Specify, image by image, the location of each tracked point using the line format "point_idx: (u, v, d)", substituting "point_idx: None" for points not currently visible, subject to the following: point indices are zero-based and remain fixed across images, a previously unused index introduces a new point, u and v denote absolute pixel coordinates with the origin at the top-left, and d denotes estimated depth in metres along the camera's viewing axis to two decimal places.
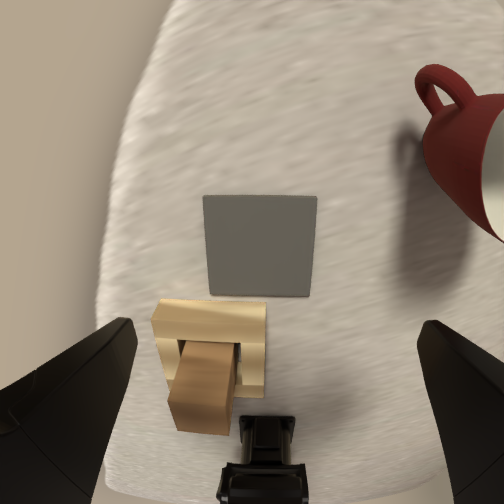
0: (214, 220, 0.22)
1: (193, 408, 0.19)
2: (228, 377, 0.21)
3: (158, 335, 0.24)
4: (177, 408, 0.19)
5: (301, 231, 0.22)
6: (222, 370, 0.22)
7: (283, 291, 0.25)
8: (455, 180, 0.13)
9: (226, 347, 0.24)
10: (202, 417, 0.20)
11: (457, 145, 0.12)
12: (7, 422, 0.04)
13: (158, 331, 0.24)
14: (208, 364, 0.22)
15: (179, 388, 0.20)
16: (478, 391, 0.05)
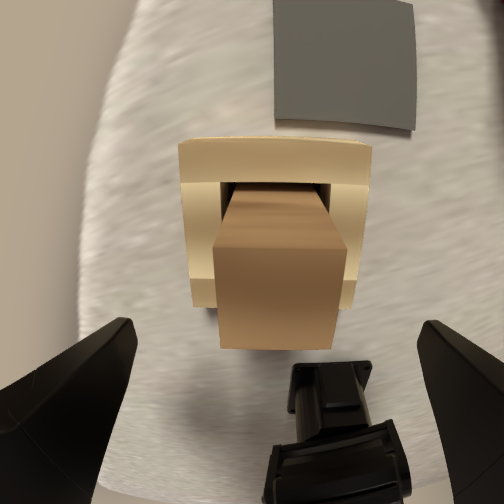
0: (288, 10, 0.12)
1: (272, 266, 0.09)
2: (329, 219, 0.12)
3: (187, 177, 0.14)
4: (233, 271, 0.10)
5: (400, 37, 0.13)
6: (313, 212, 0.12)
7: (381, 119, 0.15)
8: None
9: (307, 195, 0.14)
10: (287, 296, 0.10)
11: None
12: (8, 422, 0.04)
13: (188, 168, 0.14)
14: (283, 207, 0.13)
15: (236, 231, 0.10)
16: (478, 391, 0.05)
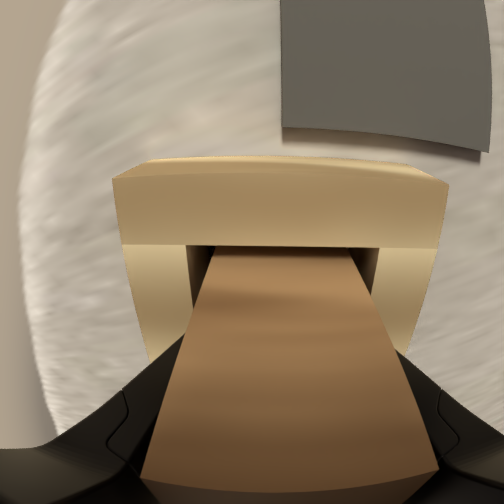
0: None
1: None
2: (389, 348, 0.05)
3: (131, 236, 0.08)
4: (193, 502, 0.03)
5: (468, 13, 0.06)
6: (358, 326, 0.06)
7: (447, 133, 0.09)
8: None
9: (338, 267, 0.08)
10: None
11: None
12: (111, 460, 0.04)
13: (132, 220, 0.08)
14: (301, 312, 0.06)
15: (199, 412, 0.04)
16: None
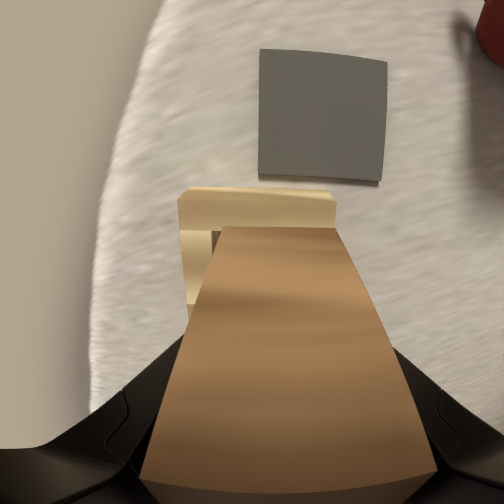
0: (272, 75, 0.16)
1: None
2: (388, 349, 0.05)
3: (185, 226, 0.18)
4: (192, 503, 0.03)
5: (372, 96, 0.16)
6: (358, 327, 0.06)
7: (350, 173, 0.19)
8: None
9: (338, 268, 0.08)
10: None
11: None
12: (111, 461, 0.04)
13: (186, 219, 0.18)
14: (300, 313, 0.06)
15: (197, 413, 0.04)
16: None
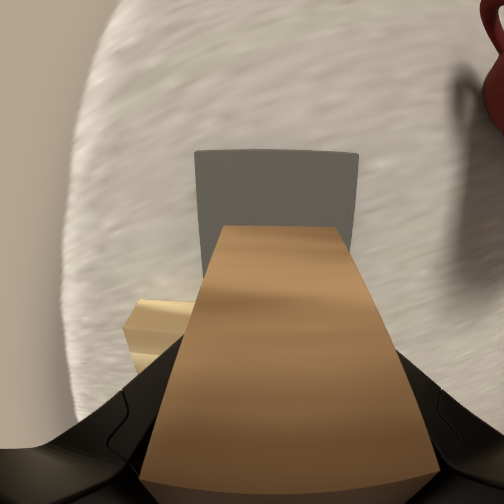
0: (211, 185, 0.15)
1: None
2: (390, 348, 0.05)
3: (134, 349, 0.17)
4: None
5: (336, 202, 0.15)
6: (359, 326, 0.06)
7: None
8: None
9: (338, 267, 0.08)
10: None
11: None
12: (112, 461, 0.04)
13: (134, 344, 0.17)
14: (300, 312, 0.06)
15: (198, 413, 0.04)
16: None
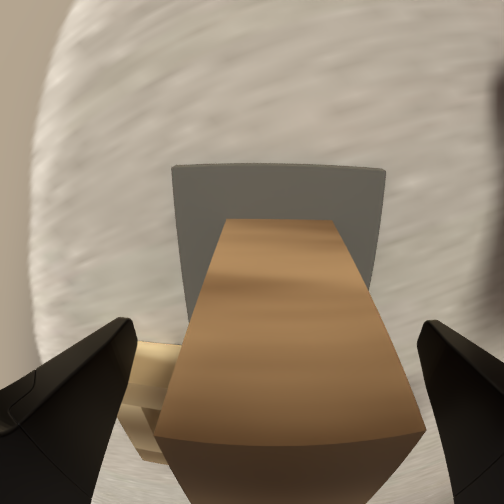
0: (194, 211, 0.12)
1: (277, 463, 0.04)
2: (380, 324, 0.06)
3: None
4: (200, 463, 0.04)
5: (355, 232, 0.12)
6: (351, 305, 0.07)
7: None
8: None
9: (333, 255, 0.09)
10: (301, 484, 0.04)
11: None
12: (7, 422, 0.04)
13: None
14: (298, 293, 0.07)
15: (207, 377, 0.05)
16: (478, 391, 0.05)
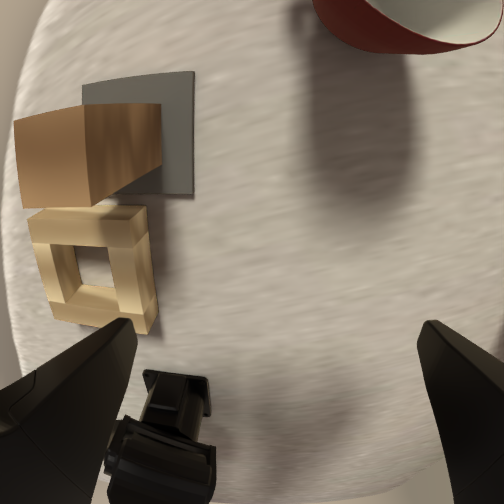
0: None
1: (41, 128, 0.10)
2: (115, 104, 0.12)
3: (34, 239, 0.19)
4: (22, 136, 0.10)
5: (176, 110, 0.17)
6: None
7: (160, 188, 0.20)
8: None
9: None
10: (52, 151, 0.10)
11: None
12: (8, 422, 0.04)
13: (34, 234, 0.19)
14: None
15: None
16: (478, 391, 0.05)
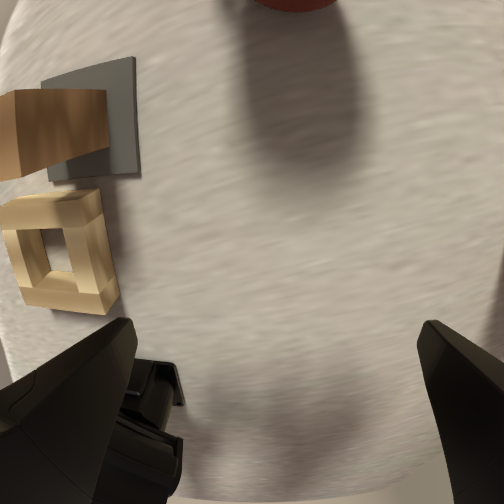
0: None
1: None
2: (49, 89, 0.11)
3: (3, 227, 0.19)
4: None
5: (119, 94, 0.17)
6: None
7: (109, 169, 0.19)
8: None
9: None
10: None
11: None
12: (8, 422, 0.04)
13: (3, 222, 0.19)
14: None
15: None
16: (478, 391, 0.05)
